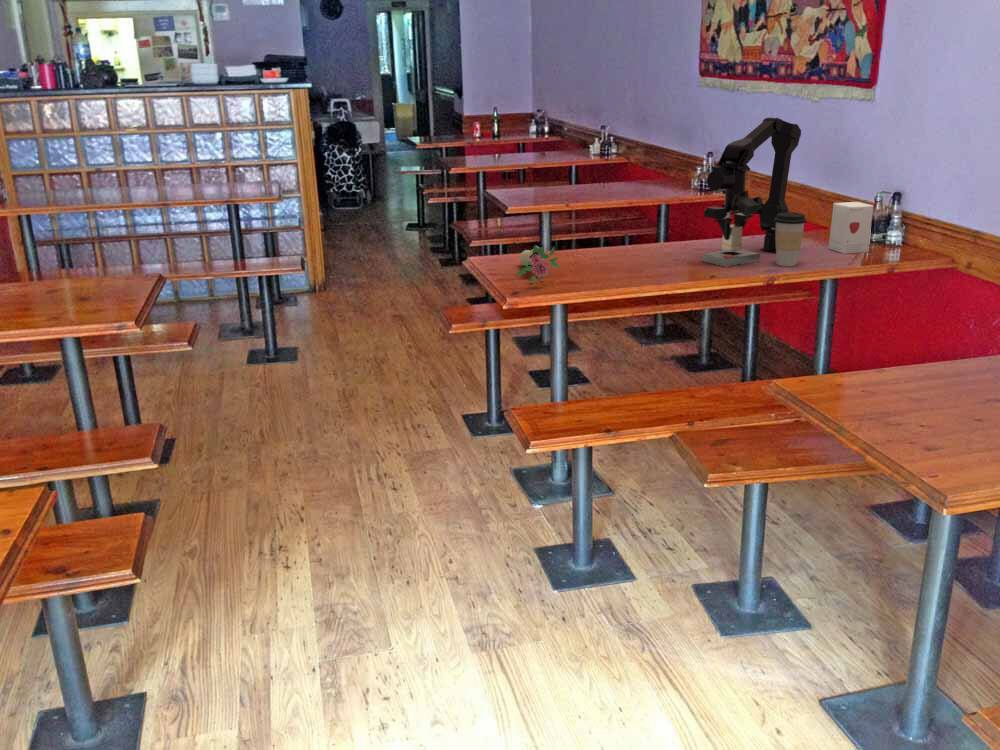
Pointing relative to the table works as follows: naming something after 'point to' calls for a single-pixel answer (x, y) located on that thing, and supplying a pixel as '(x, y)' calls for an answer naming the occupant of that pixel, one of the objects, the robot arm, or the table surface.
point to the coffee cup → (788, 237)
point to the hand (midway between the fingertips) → (732, 238)
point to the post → (733, 239)
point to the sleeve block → (730, 257)
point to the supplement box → (850, 227)
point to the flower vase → (537, 262)
